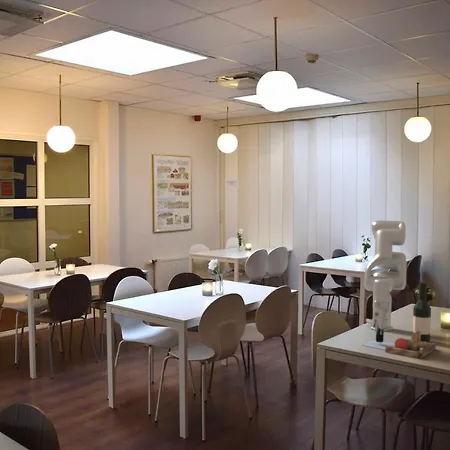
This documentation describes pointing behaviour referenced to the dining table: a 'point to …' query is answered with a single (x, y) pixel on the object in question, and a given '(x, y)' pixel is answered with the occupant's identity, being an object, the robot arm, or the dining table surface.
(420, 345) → the front pin
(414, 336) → the pin
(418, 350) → the pin
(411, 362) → the dining table surface
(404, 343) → the ball
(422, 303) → the wine bottle
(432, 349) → the wooden tray
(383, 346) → the lane strip
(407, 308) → the dining table surface
